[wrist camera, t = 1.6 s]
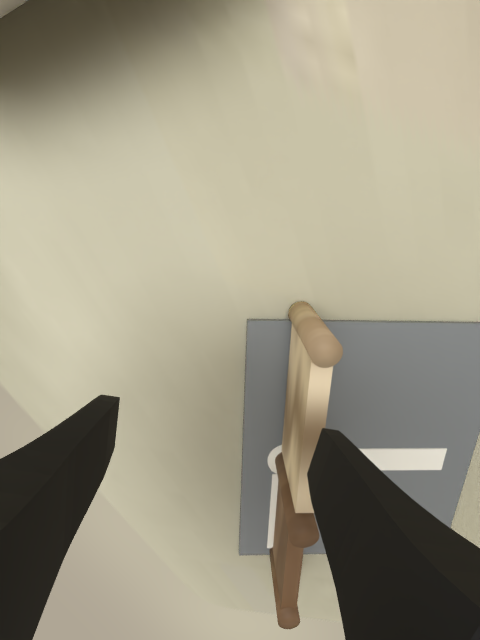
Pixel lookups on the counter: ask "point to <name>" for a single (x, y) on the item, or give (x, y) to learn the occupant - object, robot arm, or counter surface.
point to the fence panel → (306, 396)
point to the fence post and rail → (289, 549)
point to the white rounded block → (9, 6)
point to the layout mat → (368, 411)
